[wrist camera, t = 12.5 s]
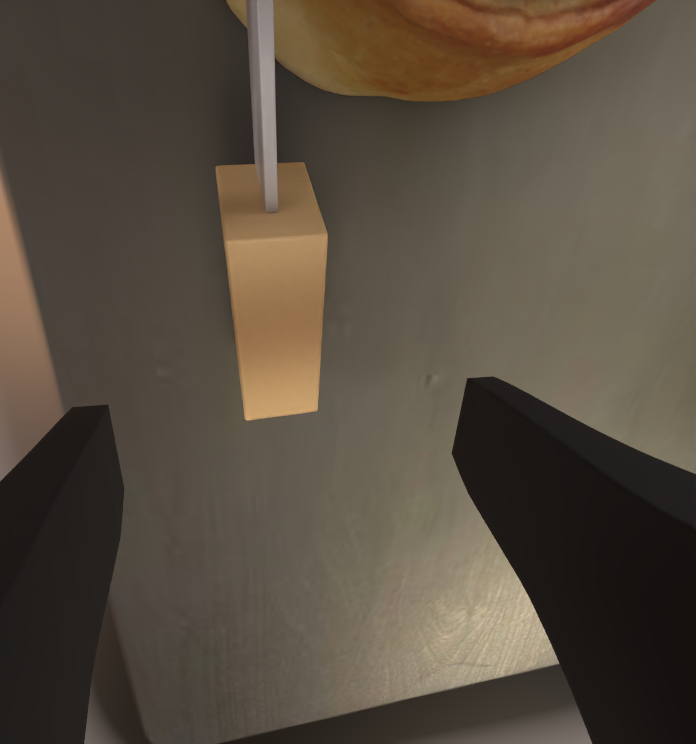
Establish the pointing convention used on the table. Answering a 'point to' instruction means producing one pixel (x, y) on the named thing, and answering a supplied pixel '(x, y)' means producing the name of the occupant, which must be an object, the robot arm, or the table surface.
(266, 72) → the cake knife
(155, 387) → the table surface
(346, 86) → the pastry
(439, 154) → the table surface
